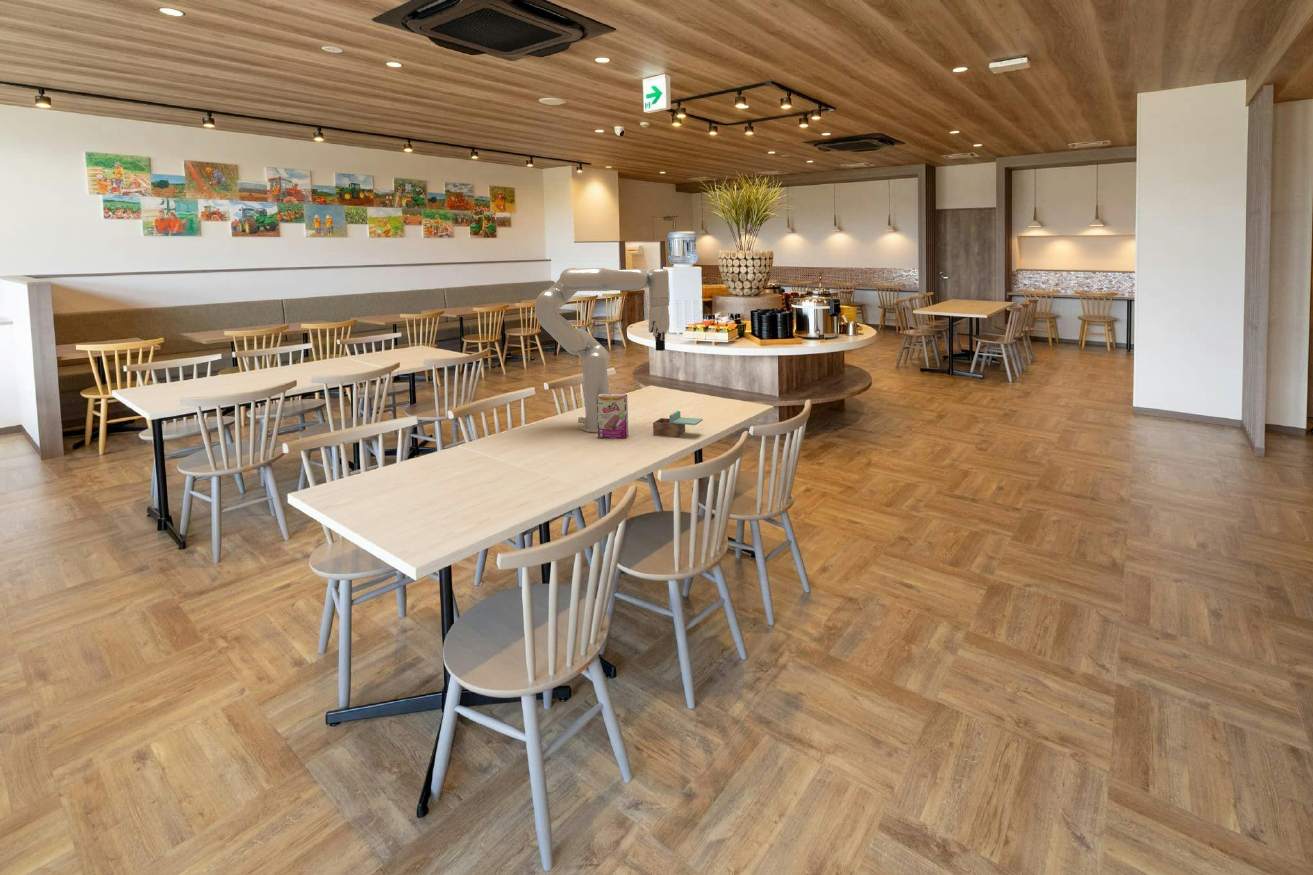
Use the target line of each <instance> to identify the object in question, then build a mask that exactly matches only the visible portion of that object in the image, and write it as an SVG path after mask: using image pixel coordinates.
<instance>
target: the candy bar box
mask: <svg viewBox="0 0 1313 875" xmlns="http://www.w3.org/2000/svg"><path fill="white" fill-rule="evenodd" d="M628 408H629V406H628V394H626V393H609V394H599V395H598V396H597V415H598V432H597V434H598V435H597V437H598V439H627V438H628V436H629V414H628V413H629V409H628Z"/></svg>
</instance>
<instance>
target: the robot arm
mask: <svg viewBox="0 0 1313 875" xmlns="http://www.w3.org/2000/svg"><path fill="white" fill-rule="evenodd" d="M669 284H670V282H669V270H668V269H665V268H653V269H645V268H636V269H610V268H609V269H608V268H605V267H591V268H590V267H588V268H587V267H585V268H584V267H583V268H580V267H579V268H577V267H570V268H569V267H568V268H565V269H564V270H563V271H562V272H561V273H560V276H559V279H558V280H557V281H556V282H554V284H553V285H551V286H550V287H549V288H548V289H545V290H543V291H541V292H540V293H539V294H538V296H537V297H536V300H535V303H534V314H535V318H536V320H537V322H538V323H539V325H540V326H541V327H542V328H543V329H544V330H545V331H546V332H547V333H548V334H549V335H550V336H551V337H552V338H553V339H554V341H556V343H558V344H559V345H560V346H561V347H562V348H563V349H564V350H565V351H566V352H567V353H569V354H570V355H574V356H579V358H581V359H582V361H581V369H582V378H583V393H584V410H585V411H584V412H585V417H583V416H582V417H581V416H579V417H578V419H577V423H578V424H583V425H582V431H584V432H587V433H598V415H597V396H598V395H599V394H610V391H609V381H608V380H609V377H608V366H609V364H610V354H609V352H608V350H607V349H606V348H605V347H604V346H603V345H602V344H601V343H600V342H599V341H598V340H597V339H595V337H593V336H592V335H591V334H590V333H589V331H587V330H585V329H583V328H579V327H576V328H575V326H574V325H572V324H571V322H569V321H568V320H567V318H565V317H563V316H562V315H561V314H560V313H559V310H560V309H561V308H562V307H564V305H566V304H567V303H568V301H569V300H570V299H571V298H573V296H574V295H575V294H576V293H578V292H609V291H611V292H612V291H640V290H643V289H646V288H648V300H649V302H648V303H649V305H648V306H649V308H648V309H649V311H648V332H649V333H652V336H653V337H654V340H655V351H658V352H660V351H661V352H663V351H665V350H666V334H668V331H669V330H670V309H669V307H670V287H669V286H670V285H669Z"/></svg>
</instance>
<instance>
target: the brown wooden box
mask: <svg viewBox="0 0 1313 875" xmlns="http://www.w3.org/2000/svg"><path fill="white" fill-rule="evenodd" d="M652 433H653V434H652V435H653V436H658V437H667V438H668V437H669V438H670V437H671V438H679V437H680V436H682V435H683V434H685V433H686V424H673V423H670V421H669V418H666V417H661V418H659V419H657V420H655V421H654V422H652Z"/></svg>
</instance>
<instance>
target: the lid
mask: <svg viewBox="0 0 1313 875" xmlns="http://www.w3.org/2000/svg"><path fill="white" fill-rule="evenodd" d="M669 421H670V423H673V424H685V426H687V425H688V426H696V425H698V424H700V423H701V422H703V421H704V419H703V418H698V417H697V418H696V417H695V418H694V417H684V416H683V417H682V416H681V410H676V411H675V412H673V413H671V414H670V415H669Z"/></svg>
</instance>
